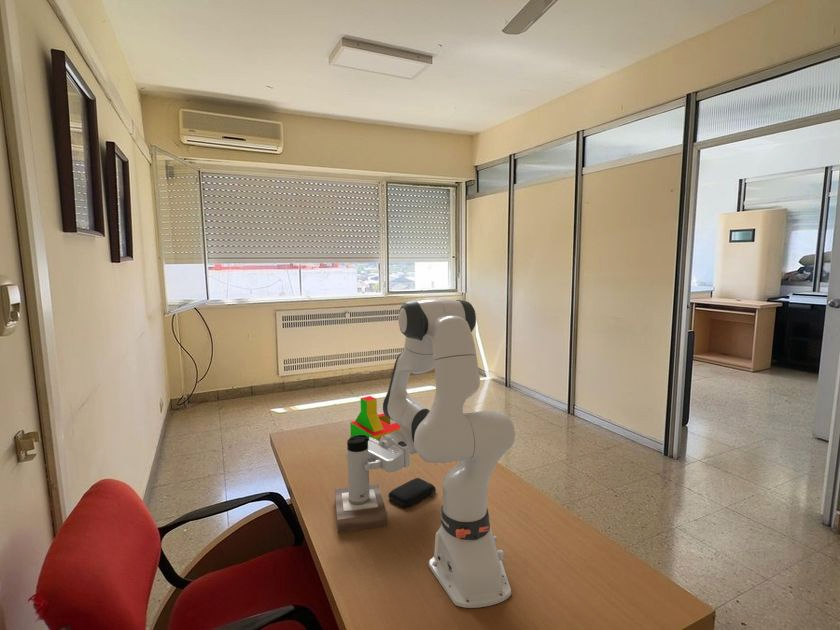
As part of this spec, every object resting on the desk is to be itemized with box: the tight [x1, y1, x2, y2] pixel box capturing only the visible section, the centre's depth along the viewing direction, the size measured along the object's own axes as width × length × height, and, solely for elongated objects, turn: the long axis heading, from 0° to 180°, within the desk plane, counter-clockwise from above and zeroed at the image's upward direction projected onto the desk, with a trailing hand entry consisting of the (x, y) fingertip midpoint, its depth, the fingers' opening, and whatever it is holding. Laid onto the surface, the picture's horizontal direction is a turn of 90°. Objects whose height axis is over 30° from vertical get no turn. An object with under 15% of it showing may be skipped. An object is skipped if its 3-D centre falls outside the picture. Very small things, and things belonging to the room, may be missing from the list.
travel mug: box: [346, 435, 370, 505], centre depth 132 cm, size 6×7×20 cm
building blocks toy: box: [349, 395, 401, 441], centre depth 186 cm, size 19×25×18 cm
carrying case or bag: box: [387, 477, 437, 509], centre depth 143 cm, size 11×3×15 cm
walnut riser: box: [334, 483, 388, 534], centre depth 134 cm, size 17×14×4 cm
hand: (355, 461), depth 131 cm, fingers open, 8 cm apart
